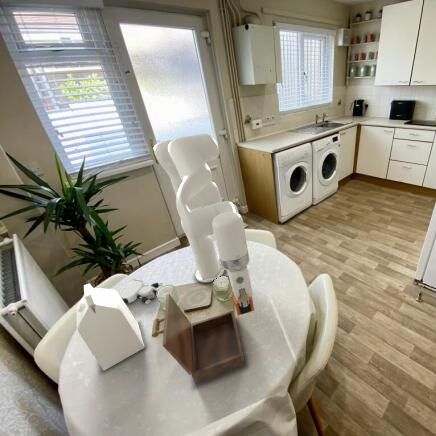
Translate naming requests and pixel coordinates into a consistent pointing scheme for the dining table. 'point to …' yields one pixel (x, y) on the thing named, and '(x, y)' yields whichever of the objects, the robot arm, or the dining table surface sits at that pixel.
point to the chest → (215, 347)
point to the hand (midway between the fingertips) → (244, 304)
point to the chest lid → (175, 334)
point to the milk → (107, 326)
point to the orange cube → (241, 301)
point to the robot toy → (138, 291)
